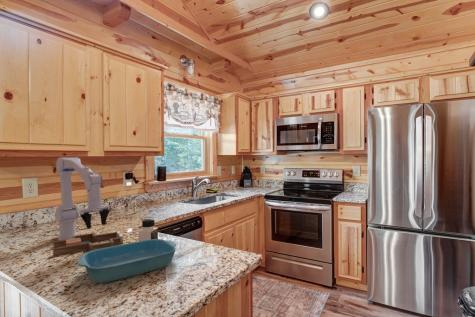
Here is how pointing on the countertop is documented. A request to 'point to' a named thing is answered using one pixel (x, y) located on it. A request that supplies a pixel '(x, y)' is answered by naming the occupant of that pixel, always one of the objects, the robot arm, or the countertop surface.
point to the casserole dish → (127, 259)
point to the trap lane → (88, 243)
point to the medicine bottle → (148, 230)
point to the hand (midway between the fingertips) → (96, 226)
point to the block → (73, 241)
